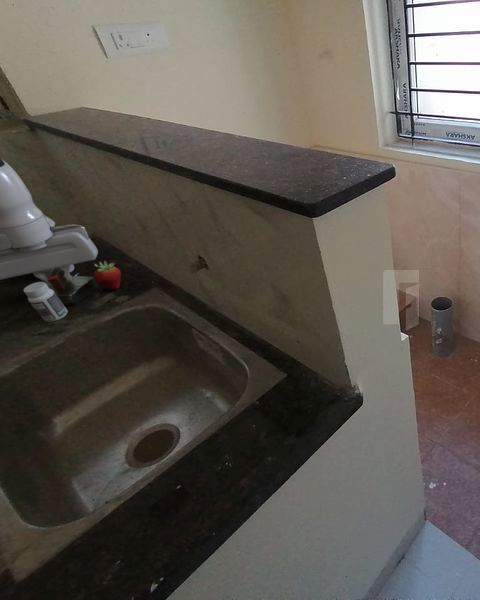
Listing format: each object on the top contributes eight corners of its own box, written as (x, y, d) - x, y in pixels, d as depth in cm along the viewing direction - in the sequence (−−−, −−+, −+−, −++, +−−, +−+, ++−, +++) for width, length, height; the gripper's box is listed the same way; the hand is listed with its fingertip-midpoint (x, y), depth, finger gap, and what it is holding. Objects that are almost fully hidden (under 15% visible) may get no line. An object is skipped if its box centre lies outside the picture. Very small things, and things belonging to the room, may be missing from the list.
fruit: (131, 287, 99) (117, 260, 94) (109, 297, 96) (93, 270, 91) (122, 281, 101) (107, 254, 97) (100, 290, 98) (84, 264, 93)
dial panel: (34, 306, 93) (26, 296, 91) (66, 282, 101) (60, 272, 99) (73, 308, 92) (66, 297, 91) (103, 283, 101) (97, 273, 99)
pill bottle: (66, 307, 93) (45, 278, 88) (70, 316, 90) (49, 286, 85) (42, 316, 90) (19, 286, 85) (45, 325, 88) (22, 295, 82)
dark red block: (62, 279, 97) (53, 267, 95) (69, 278, 97) (61, 265, 95) (56, 292, 93) (48, 279, 90) (64, 290, 93) (56, 277, 91)
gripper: (83, 216, 92) (111, 265, 100) (-26, 235, 85) (13, 287, 93) (79, 227, 87) (108, 277, 95) (-37, 248, 80) (6, 301, 89)
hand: (61, 282), depth 94 cm, fingers closed on dark red block, 2 cm apart
